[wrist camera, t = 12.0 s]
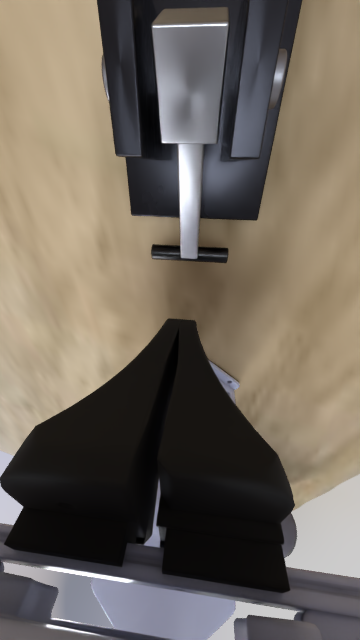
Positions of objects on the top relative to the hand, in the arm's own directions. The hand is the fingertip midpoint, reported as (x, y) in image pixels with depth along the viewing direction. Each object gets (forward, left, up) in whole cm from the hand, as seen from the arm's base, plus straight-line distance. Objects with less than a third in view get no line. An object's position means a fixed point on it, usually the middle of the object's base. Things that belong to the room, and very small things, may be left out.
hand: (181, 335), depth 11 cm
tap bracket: (+6, -7, -10) cm, 14 cm away
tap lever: (+4, -5, -5) cm, 9 cm away
